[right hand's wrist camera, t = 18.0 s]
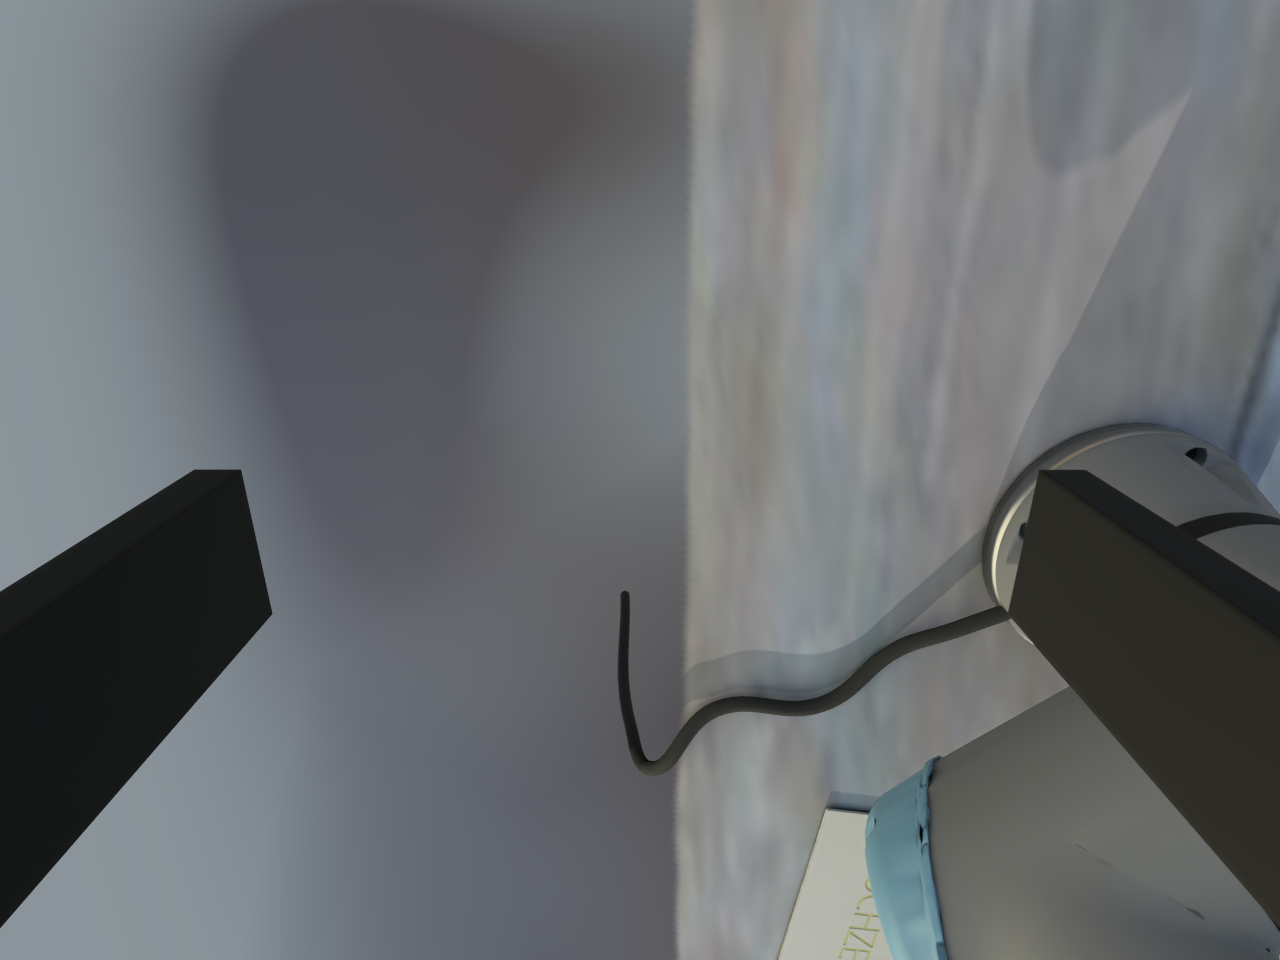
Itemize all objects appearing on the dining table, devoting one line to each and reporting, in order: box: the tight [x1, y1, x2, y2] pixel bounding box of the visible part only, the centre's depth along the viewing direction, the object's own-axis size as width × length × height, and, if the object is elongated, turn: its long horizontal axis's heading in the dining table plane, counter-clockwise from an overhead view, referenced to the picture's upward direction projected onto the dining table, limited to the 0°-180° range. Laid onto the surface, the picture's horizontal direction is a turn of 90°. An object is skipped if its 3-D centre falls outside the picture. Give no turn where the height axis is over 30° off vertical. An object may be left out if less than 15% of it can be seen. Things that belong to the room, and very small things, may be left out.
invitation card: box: [778, 808, 894, 960], centre depth 57 cm, size 21×1×15 cm
